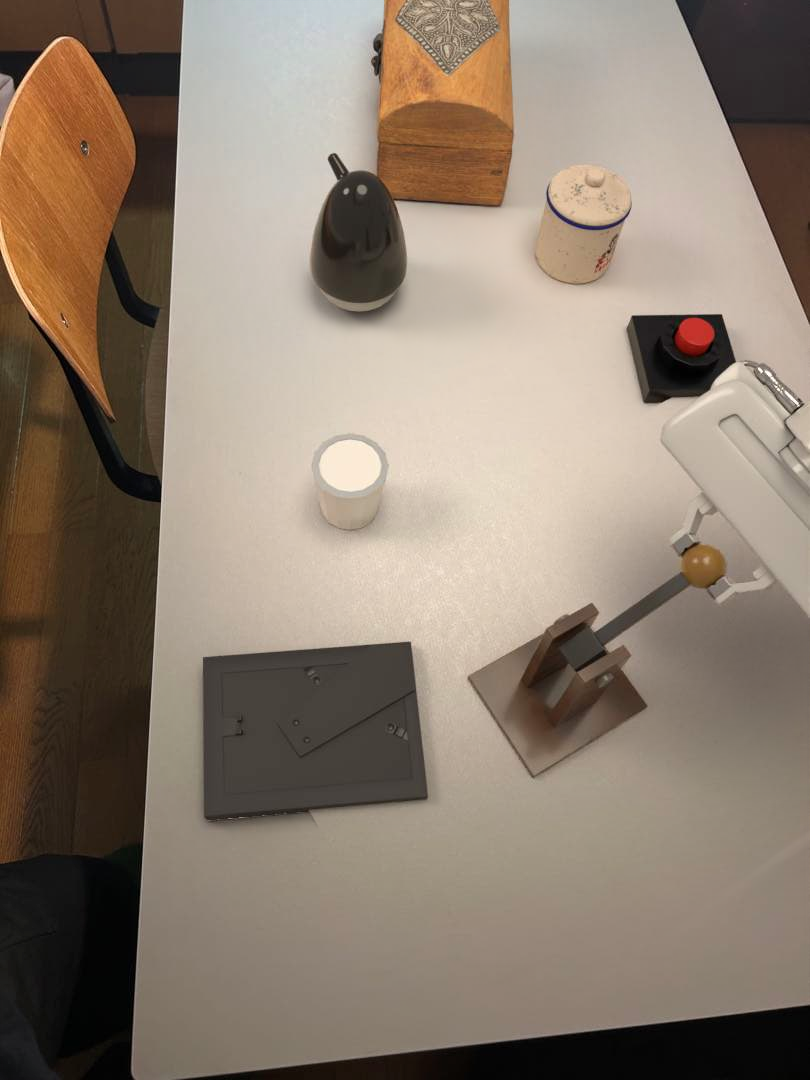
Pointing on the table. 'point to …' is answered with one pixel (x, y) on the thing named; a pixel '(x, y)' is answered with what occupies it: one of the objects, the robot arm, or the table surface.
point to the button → (694, 336)
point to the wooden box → (445, 100)
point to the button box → (676, 357)
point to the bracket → (556, 695)
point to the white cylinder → (349, 479)
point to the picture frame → (310, 730)
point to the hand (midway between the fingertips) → (694, 574)
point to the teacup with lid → (581, 223)
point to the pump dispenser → (358, 241)
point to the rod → (647, 605)
